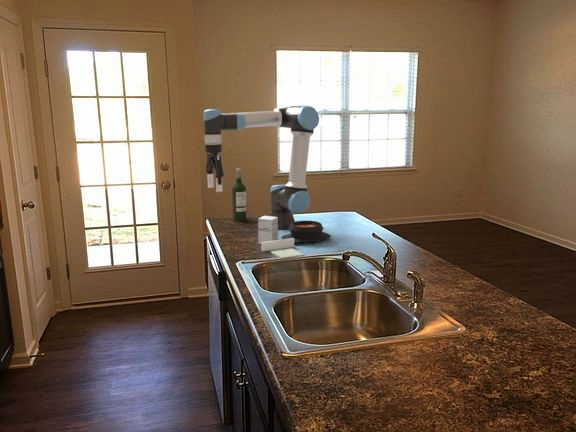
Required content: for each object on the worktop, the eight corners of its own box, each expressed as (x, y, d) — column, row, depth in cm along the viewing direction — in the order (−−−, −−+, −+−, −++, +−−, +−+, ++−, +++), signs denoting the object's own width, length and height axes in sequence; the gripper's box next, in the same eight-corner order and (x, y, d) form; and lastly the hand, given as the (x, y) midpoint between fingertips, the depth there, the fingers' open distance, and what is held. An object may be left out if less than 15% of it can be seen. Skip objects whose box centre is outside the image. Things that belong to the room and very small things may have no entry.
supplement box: (257, 244, 228) (257, 218, 225) (264, 240, 235) (264, 215, 232) (272, 245, 225) (272, 219, 222) (278, 242, 232) (278, 216, 229)
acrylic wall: (293, 246, 224) (293, 238, 223) (294, 247, 223) (294, 238, 222) (261, 250, 217) (261, 242, 216) (262, 251, 216) (262, 242, 215)
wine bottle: (239, 222, 274) (238, 169, 268) (229, 220, 279) (228, 168, 273) (249, 219, 280) (248, 168, 274) (239, 218, 285) (238, 167, 279)
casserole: (319, 233, 249) (320, 217, 247) (337, 242, 232) (338, 225, 230) (275, 238, 239) (275, 222, 237) (290, 247, 222) (290, 230, 220)
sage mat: (292, 249, 220) (292, 248, 219) (303, 255, 210) (303, 254, 210) (270, 252, 215) (270, 251, 215) (280, 258, 205) (280, 257, 205)
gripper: (198, 142, 231) (200, 186, 235) (213, 145, 209) (215, 194, 213) (213, 142, 234) (215, 185, 238) (229, 145, 212) (231, 192, 216)
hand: (215, 189), depth 226 cm, fingers open, 13 cm apart
